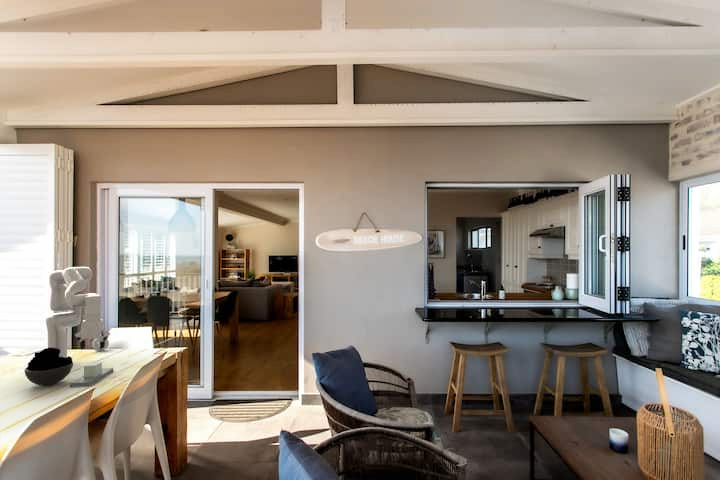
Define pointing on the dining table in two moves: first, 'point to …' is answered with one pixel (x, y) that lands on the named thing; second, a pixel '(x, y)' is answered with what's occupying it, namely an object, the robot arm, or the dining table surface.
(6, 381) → the dining table surface
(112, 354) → the dining table surface
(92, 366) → the block
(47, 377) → the coal bowl
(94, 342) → the donut
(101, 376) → the board
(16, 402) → the dining table surface
